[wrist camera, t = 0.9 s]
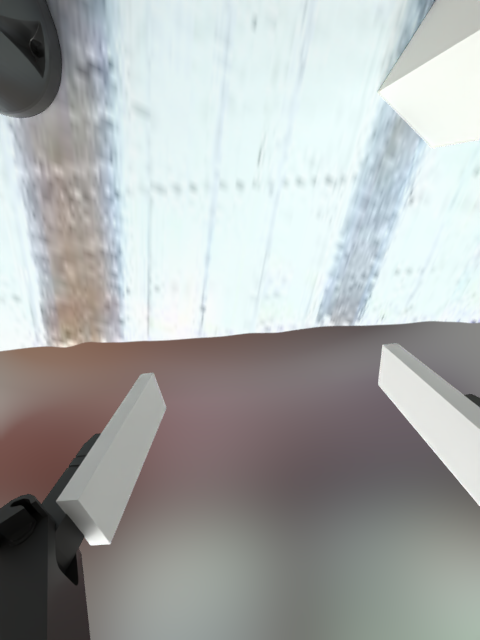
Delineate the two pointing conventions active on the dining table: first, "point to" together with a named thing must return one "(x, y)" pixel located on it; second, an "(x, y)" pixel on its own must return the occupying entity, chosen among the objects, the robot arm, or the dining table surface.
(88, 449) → the robot arm
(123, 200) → the dining table surface
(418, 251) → the dining table surface
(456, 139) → the stand
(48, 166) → the dining table surface
